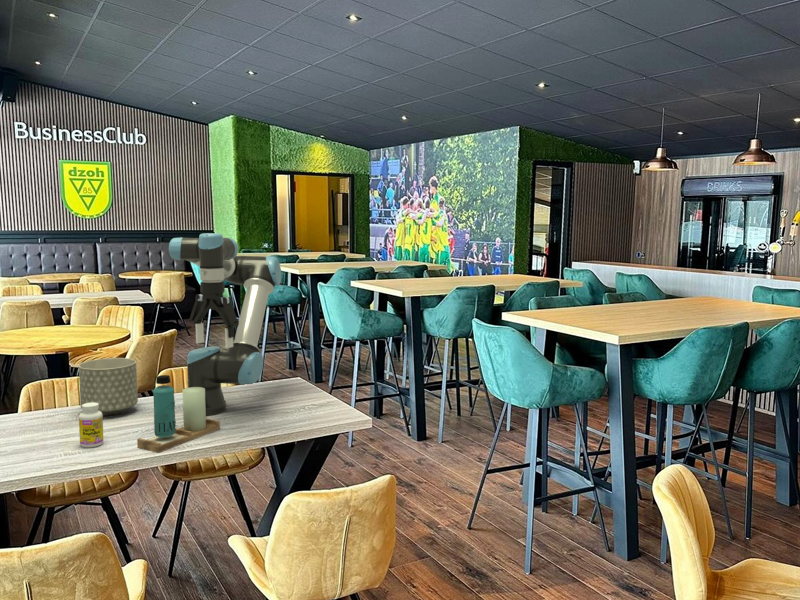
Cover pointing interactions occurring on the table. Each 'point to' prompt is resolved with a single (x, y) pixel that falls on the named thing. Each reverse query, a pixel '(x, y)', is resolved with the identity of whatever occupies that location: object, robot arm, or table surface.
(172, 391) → the beverage bottle
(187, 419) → the sage canister
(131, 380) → the planter
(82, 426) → the supplement bottle
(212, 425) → the wooden tray
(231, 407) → the table surface
